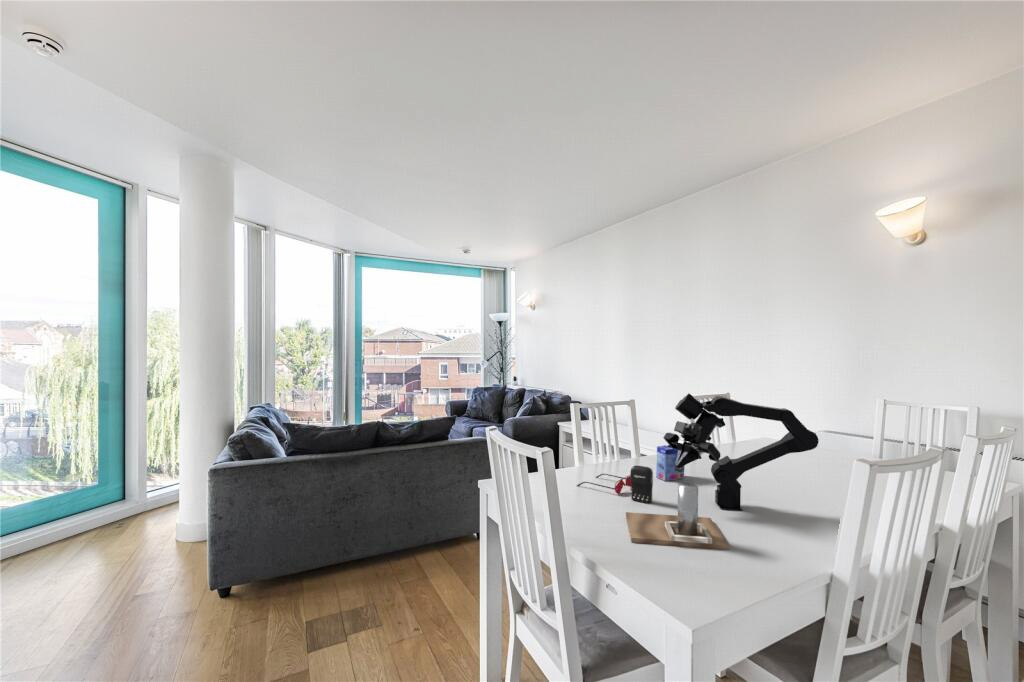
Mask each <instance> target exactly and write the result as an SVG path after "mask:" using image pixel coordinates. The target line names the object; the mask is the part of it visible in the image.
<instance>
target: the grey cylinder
mask: <svg viewBox="0 0 1024 682" xmlns="http://www.w3.org/2000/svg"><path fill="white" fill-rule="evenodd" d="M677 486H678V487H677V488H678V489H677V490H678V491H677V516H678V534H679V535H685V536H698V517H699V486H698V485H697V484H695V483H693V482H679V483H678V484H677Z"/></svg>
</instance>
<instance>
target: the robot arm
mask: <svg viewBox="0 0 1024 682" xmlns="http://www.w3.org/2000/svg"><path fill="white" fill-rule="evenodd" d="M674 409H675V410H676V411H677V412H679V414H681V415H682V416H684V417H685V418H687V419H688V420H690V421H691V420H695V422H691V423H686V422H684V421H683V422H682V421H679V420H677V421H676V423H675V426H674V428H673V431H674V432H677V433H678V434H680V436H681V438H680V436H679V435H678V434H676V433H672V432H666V433H665V435H663V439H664V441H665V442H666V443H667V444H668V445H670V447H671V448H673V449H675V450H678V454H677V458H676V463H675V467H676V468H680V467H682V466H684V467H685V466H686V465H688V464H690V463H692V462H695V461H697V460H702V455H703V454H705V453H706V454H708V458H709V460H710V461H713V462H714V463H712V465H711V467H710V471H711V475H712V476H713V478H714V480H715V481H716V482H717V483H718V484H717V485H716V489H715V490H714V491H715V492H714V502H715V504H716V505H717V506H718V507H719V509H720V510H731V511H743V507H742V506H741V497H742V496H741V494H742V493H741V489H742V484H741V483H740V482H739V480H738V479H739V478H740V477H741V476H742V475H743V474H744V473H745V472H748V471H750V470H752V469H755V468H757V467H759V466H760V467H761V466H762V465H764V464H767V463H769V462H771V461H773V460H776V459H779V458H781V457H784V456H786V455H788V454H794V453H795V454H796V453H802V452H808V451H811V450H814V449H816V448H817V447H818V445H819V438H818V435H817V433H815V432H814V431H812V430H810V429H808V428H807V427H806V426H805V425H804V424H803V423H802V422H801V420H799V419H798V418H797V416H796V415H795V413H793V411H791V410H789V409H787V408H785V407H784V408H777V407H771V406H764V405H758V404H751V403H744V402H741V401H738V400H736V399H735V400H734V399H731V398H728V397H725V396H723V395H716V396H715V397H713V398H712V399H711V400H708V401H703V402H700V401H699V400H697V398H695V397H694V396H693V395H692V394H691V393H689V392H688V393H687V394H686V395H685V396H684V397H683V398H682V399H680V400H679V402H678V403H677V404H676V405H675V408H674ZM718 416H720V417H718ZM736 416H742V417H743V416H745V417H751V418H759V419H764V420H771V421H776V422H781V423H782V424H783V426H784V427H785V429H786V430H787V431H788V432H787V433H786V434H785V435H784V436H783V437H782V438H781V439H779V440H778V441H775V442H773V443H770V444H768V445H765V446H763V447H761V448H759V449H756V450H754V451H751V452H750V453H747V454H745V455H742V456H740V457H736V458H730V457H729V455H725V456H723V457H722V458H721V452H720V451H719V450H718V448H717V447H716V445H715V444H714V443H711V441H712V437H711V435H712V433H713V432H714V430H715V429H716V427H717V428H719V429H721V428H723V427H725V426H726V422H725V421H724V417H736ZM708 441H709V442H708Z"/></svg>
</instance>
